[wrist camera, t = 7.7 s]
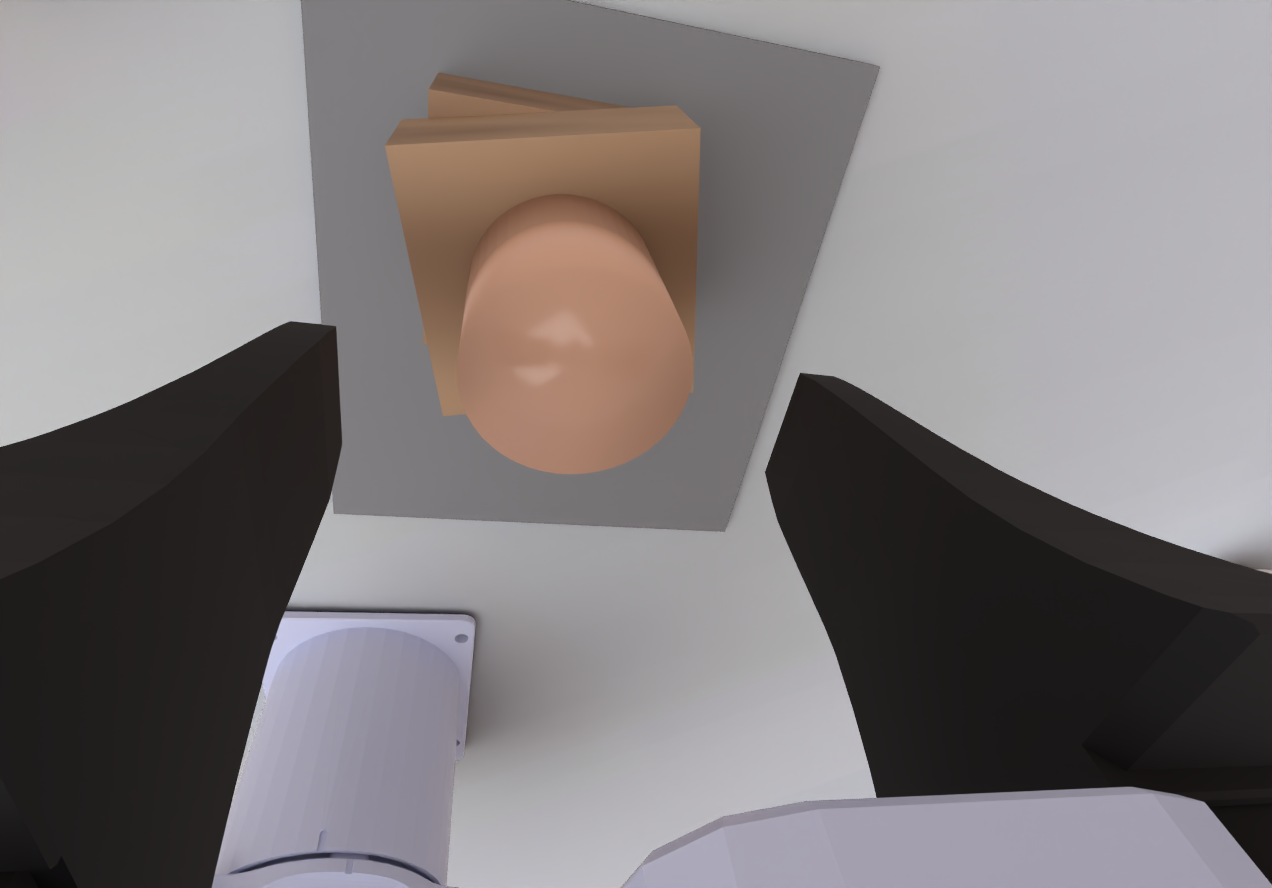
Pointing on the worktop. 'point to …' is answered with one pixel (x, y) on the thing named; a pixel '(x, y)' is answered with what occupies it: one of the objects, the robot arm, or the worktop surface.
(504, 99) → the walnut block lower
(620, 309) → the peach rounded cylinder
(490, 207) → the walnut block upper
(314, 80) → the slate mat
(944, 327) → the worktop surface
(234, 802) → the robot arm
